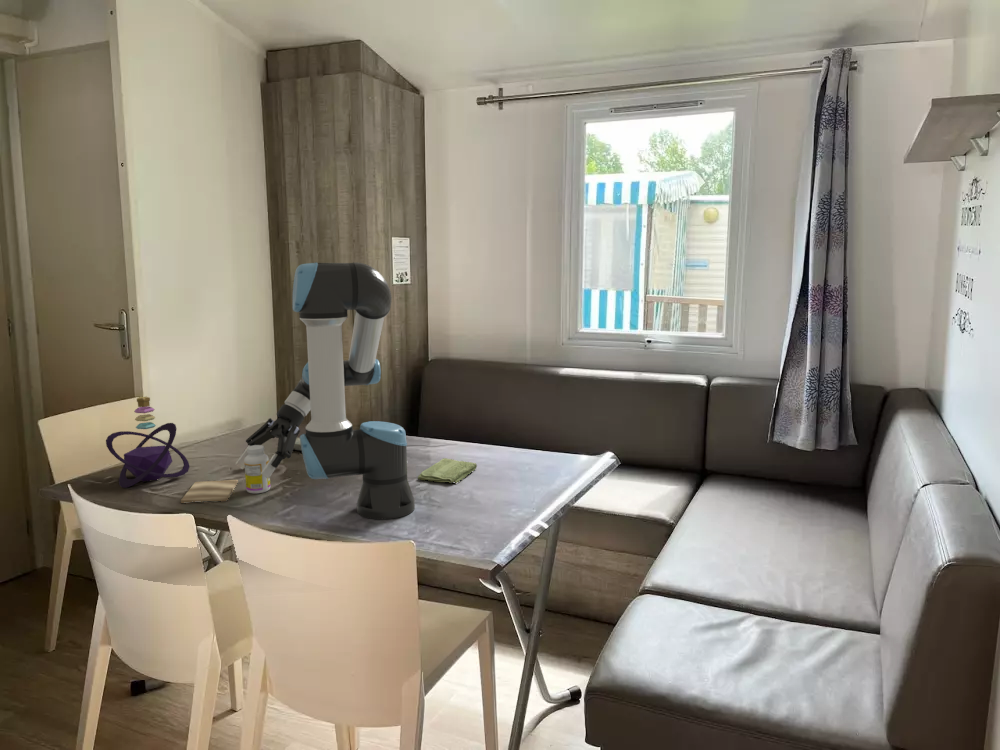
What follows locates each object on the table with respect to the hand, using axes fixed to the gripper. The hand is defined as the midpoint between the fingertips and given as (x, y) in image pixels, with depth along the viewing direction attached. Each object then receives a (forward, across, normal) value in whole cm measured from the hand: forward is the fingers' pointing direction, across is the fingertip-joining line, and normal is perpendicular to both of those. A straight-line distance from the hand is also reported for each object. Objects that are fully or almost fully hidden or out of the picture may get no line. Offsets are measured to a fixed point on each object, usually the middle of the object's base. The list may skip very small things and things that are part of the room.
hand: (251, 471), depth 208 cm
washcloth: (-29, -32, -38) cm, 57 cm away
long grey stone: (-23, +19, -32) cm, 44 cm away
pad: (+10, +8, +2) cm, 13 cm away
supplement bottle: (+3, 0, -6) cm, 6 cm away
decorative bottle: (+14, +35, +5) cm, 38 cm away
